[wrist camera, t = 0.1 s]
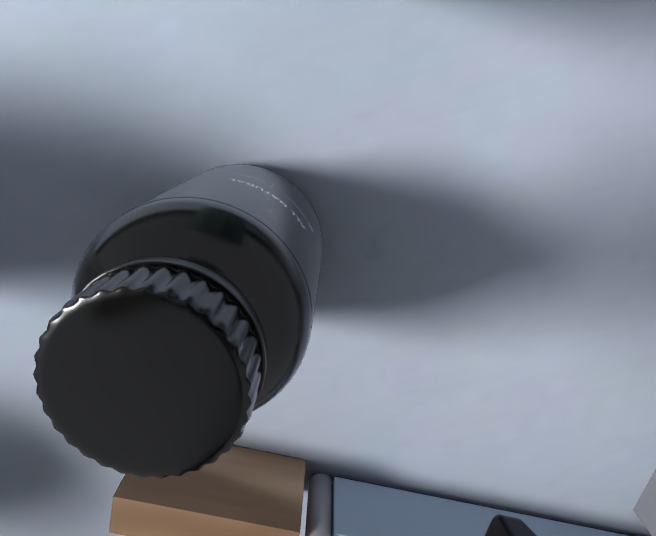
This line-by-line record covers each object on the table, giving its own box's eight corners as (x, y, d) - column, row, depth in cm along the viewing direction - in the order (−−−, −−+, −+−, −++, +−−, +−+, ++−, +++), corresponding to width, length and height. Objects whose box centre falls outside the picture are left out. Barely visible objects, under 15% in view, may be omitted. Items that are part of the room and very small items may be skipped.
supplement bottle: (321, 159, 21) (302, 237, 10) (324, 310, 23) (311, 519, 12) (156, 161, 21) (-54, 241, 10) (175, 311, 23) (21, 518, 12)
